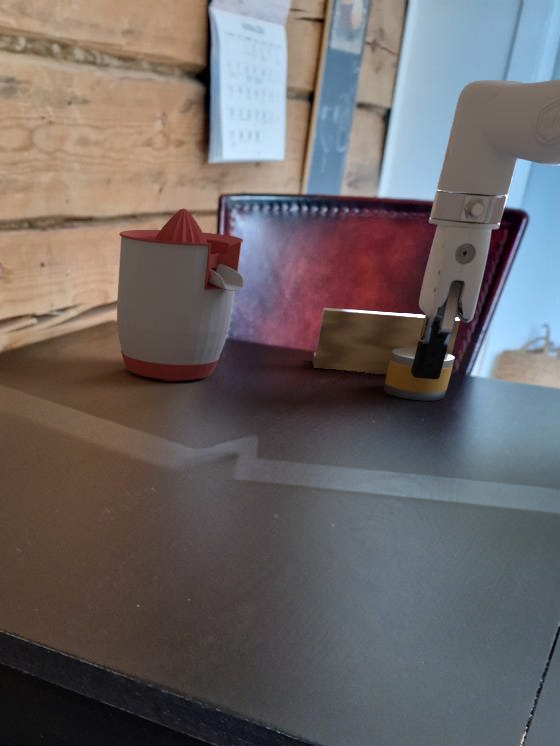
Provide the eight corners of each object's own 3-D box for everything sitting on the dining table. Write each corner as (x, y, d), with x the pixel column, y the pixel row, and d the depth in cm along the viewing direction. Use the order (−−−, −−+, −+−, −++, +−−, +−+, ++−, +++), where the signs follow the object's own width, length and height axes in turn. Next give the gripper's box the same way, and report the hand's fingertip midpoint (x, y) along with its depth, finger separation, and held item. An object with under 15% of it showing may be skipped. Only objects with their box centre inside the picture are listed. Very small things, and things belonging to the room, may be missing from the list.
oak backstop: (438, 371, 125) (452, 313, 120) (444, 380, 119) (460, 320, 115) (312, 360, 127) (322, 303, 123) (313, 369, 122) (324, 309, 118)
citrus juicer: (183, 396, 106) (202, 216, 95) (87, 368, 116) (94, 203, 106) (260, 379, 115) (284, 214, 105) (164, 355, 126) (178, 203, 116)
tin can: (442, 389, 114) (451, 351, 112) (447, 403, 108) (457, 363, 105) (382, 383, 116) (390, 345, 114) (384, 396, 110) (392, 356, 107)
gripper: (518, 219, 89) (468, 395, 99) (486, 209, 102) (445, 366, 111) (444, 213, 90) (401, 388, 100) (422, 205, 103) (386, 361, 112)
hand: (424, 376), depth 106 cm, fingers closed
